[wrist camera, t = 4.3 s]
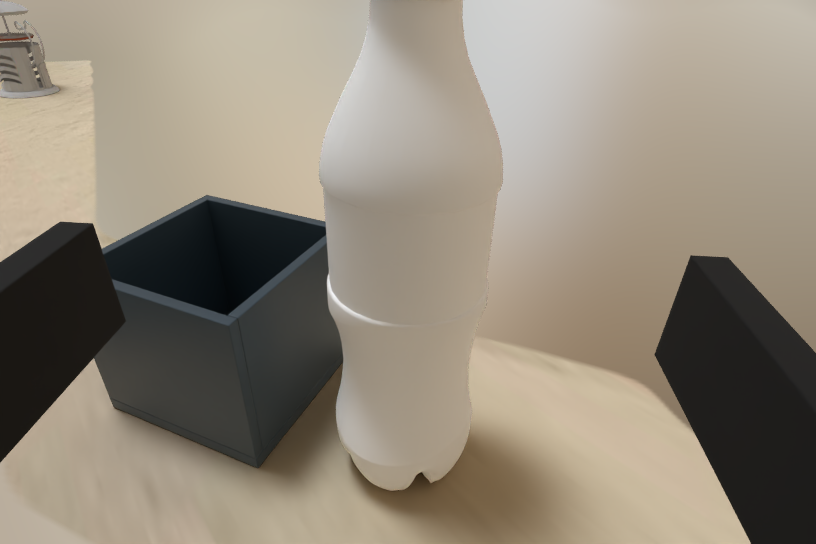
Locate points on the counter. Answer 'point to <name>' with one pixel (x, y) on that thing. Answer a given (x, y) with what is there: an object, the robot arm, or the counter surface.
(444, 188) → the water bottle
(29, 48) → the french press
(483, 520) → the counter surface
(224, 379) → the tub
